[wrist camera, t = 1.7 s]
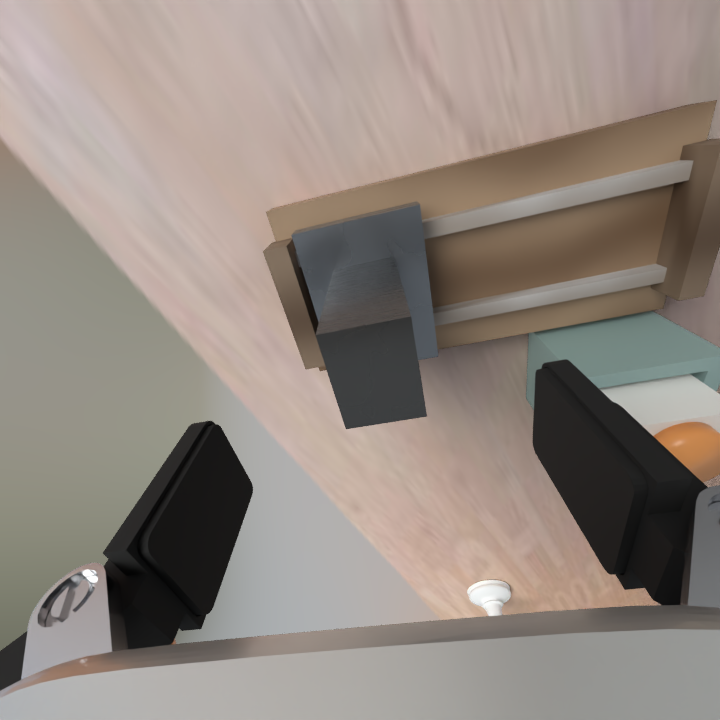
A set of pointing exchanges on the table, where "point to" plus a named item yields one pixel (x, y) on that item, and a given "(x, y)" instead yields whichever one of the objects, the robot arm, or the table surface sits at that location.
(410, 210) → the carriage
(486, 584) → the chess piece
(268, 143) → the table surface
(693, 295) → the rail track
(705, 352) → the grey-green housing
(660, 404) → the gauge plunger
